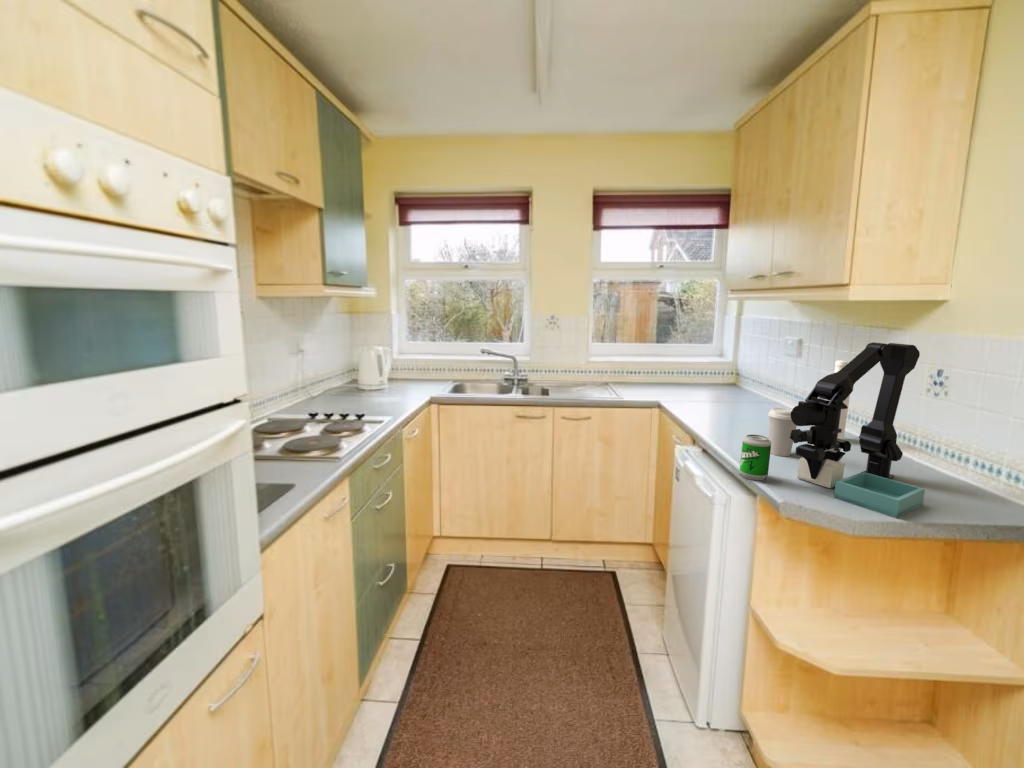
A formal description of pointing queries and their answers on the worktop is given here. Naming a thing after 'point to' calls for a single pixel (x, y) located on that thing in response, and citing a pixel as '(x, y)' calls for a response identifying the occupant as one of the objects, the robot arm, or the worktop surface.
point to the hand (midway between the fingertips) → (819, 476)
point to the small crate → (822, 473)
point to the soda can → (755, 457)
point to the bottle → (843, 416)
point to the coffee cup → (780, 431)
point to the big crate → (879, 494)
